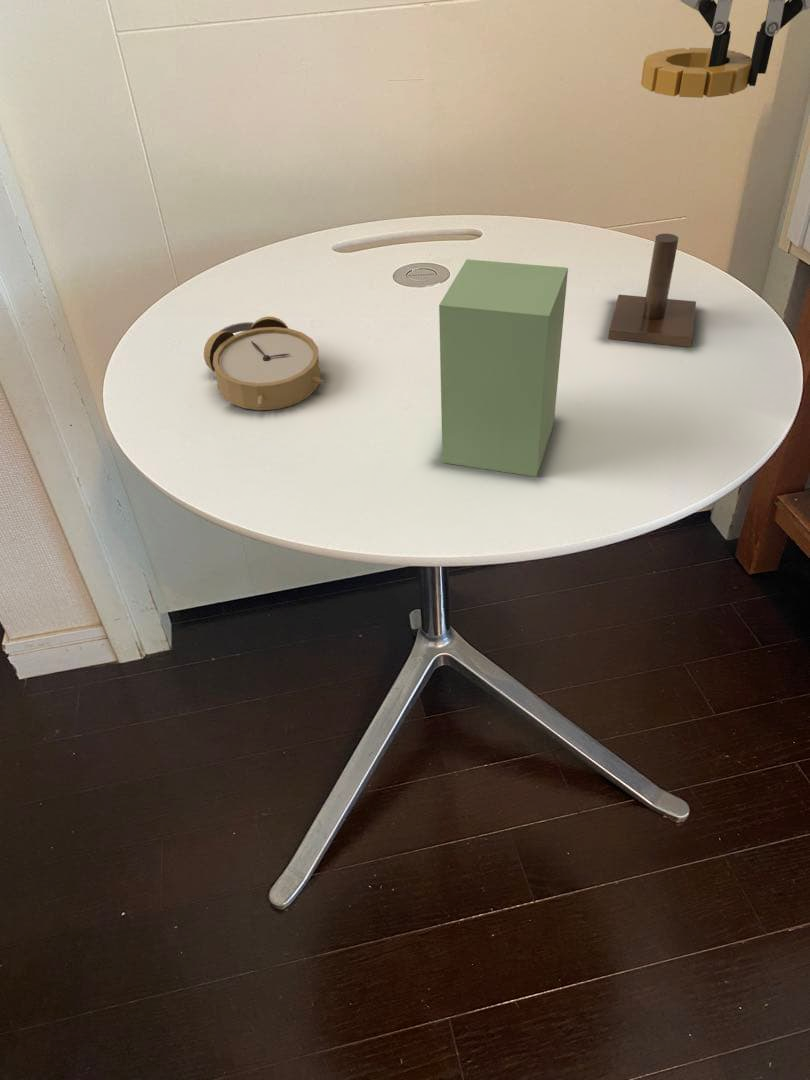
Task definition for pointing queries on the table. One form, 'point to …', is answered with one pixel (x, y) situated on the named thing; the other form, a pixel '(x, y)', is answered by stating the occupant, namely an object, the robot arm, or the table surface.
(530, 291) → the sage green upright pillar
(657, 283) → the peg stand
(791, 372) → the table surface
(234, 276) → the table surface
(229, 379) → the alarm clock
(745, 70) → the brass ring
